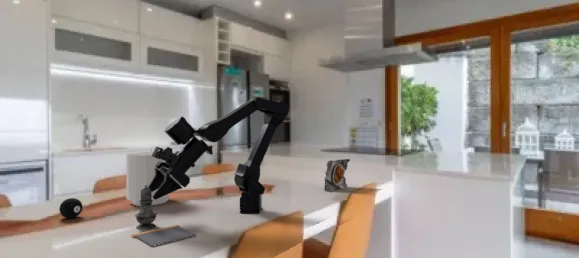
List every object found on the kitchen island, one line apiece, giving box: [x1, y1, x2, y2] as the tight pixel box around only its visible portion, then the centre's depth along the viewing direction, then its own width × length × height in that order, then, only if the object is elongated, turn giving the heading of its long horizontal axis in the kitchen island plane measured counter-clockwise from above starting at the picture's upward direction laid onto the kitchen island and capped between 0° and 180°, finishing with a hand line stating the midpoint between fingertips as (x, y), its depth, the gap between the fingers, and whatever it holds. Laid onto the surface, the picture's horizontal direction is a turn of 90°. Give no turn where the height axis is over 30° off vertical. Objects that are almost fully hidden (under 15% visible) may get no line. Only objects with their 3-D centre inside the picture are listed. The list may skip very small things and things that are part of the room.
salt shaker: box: [134, 185, 158, 231], centre depth 102 cm, size 6×6×12 cm
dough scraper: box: [130, 224, 198, 247], centre depth 94 cm, size 11×13×1 cm
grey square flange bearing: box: [324, 158, 351, 193], centre depth 159 cm, size 15×4×13 cm, turn 142°
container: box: [125, 151, 169, 207], centre depth 134 cm, size 14×14×18 cm
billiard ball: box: [58, 197, 83, 219], centre depth 111 cm, size 6×6×6 cm
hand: (150, 195), depth 103 cm, fingers open, 9 cm apart
